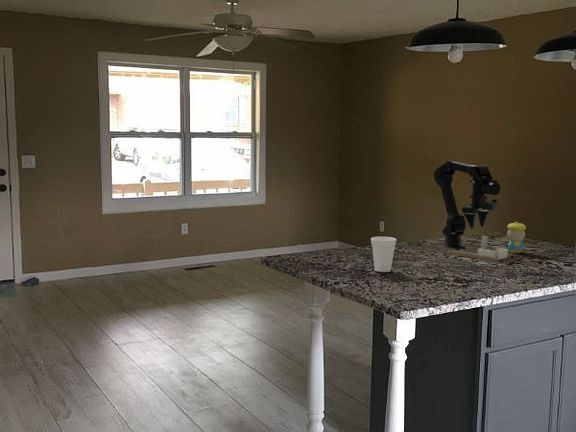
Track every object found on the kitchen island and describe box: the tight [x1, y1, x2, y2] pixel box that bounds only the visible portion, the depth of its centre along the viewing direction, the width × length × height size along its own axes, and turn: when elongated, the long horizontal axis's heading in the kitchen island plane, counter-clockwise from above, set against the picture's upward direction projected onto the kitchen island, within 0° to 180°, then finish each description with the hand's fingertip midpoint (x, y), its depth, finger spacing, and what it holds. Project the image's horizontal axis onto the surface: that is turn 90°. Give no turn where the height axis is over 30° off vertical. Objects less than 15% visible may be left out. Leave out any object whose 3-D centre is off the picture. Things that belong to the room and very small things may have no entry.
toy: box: [506, 221, 527, 254], centre depth 285 cm, size 8×9×15 cm
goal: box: [486, 247, 509, 261], centre depth 273 cm, size 5×10×4 cm, turn 134°
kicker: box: [478, 235, 490, 256], centre depth 277 cm, size 4×4×8 cm
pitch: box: [447, 246, 512, 262], centre depth 279 cm, size 22×16×2 cm
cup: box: [370, 236, 397, 273], centre depth 247 cm, size 10×10×13 cm
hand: (477, 227), depth 285 cm, fingers open, 9 cm apart
